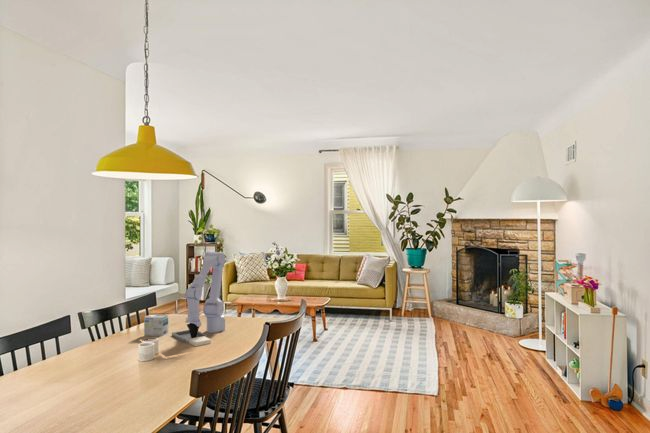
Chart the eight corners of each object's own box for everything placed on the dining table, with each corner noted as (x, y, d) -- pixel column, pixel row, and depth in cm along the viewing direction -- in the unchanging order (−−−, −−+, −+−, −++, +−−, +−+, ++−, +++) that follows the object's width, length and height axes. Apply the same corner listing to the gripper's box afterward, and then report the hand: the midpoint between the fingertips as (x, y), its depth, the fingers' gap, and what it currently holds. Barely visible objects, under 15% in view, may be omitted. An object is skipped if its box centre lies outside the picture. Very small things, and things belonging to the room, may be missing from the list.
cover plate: (204, 340, 221) (204, 336, 221) (210, 343, 215) (210, 339, 215) (188, 343, 216) (188, 338, 216) (195, 347, 210) (195, 342, 210)
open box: (193, 333, 237) (193, 328, 237) (207, 340, 224) (207, 335, 224) (171, 337, 229) (171, 332, 229) (184, 344, 216) (184, 339, 216)
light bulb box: (168, 334, 236) (168, 314, 236) (163, 337, 229) (163, 317, 229) (150, 333, 237) (149, 314, 237) (143, 337, 230) (143, 316, 230)
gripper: (180, 310, 225) (180, 336, 225) (191, 314, 214) (191, 342, 214) (193, 308, 229) (193, 334, 230) (205, 312, 218) (205, 339, 218)
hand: (193, 338), depth 222 cm, fingers closed
